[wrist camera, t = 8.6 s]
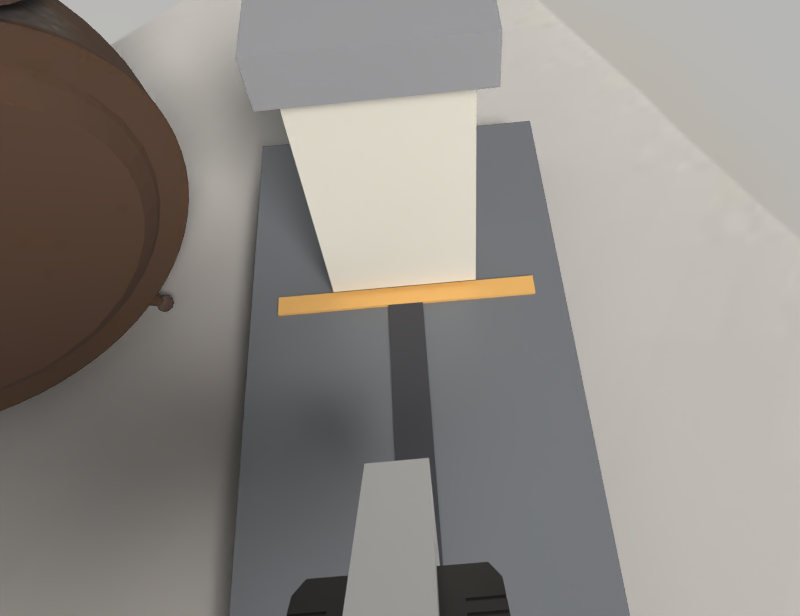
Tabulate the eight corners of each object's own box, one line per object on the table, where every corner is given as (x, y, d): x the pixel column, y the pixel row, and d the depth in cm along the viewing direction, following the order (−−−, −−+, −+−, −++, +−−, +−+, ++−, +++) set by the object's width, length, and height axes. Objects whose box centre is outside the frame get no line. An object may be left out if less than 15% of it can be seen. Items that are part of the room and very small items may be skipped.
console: (227, 970, 18) (200, 992, 16) (274, 179, 32) (262, 144, 30) (679, 949, 17) (703, 971, 16) (526, 155, 31) (529, 118, 30)
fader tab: (319, 307, 25) (235, 57, 16) (320, 226, 27) (246, -37, 18) (492, 292, 25) (502, 30, 16) (480, 211, 27) (484, -63, 18)
